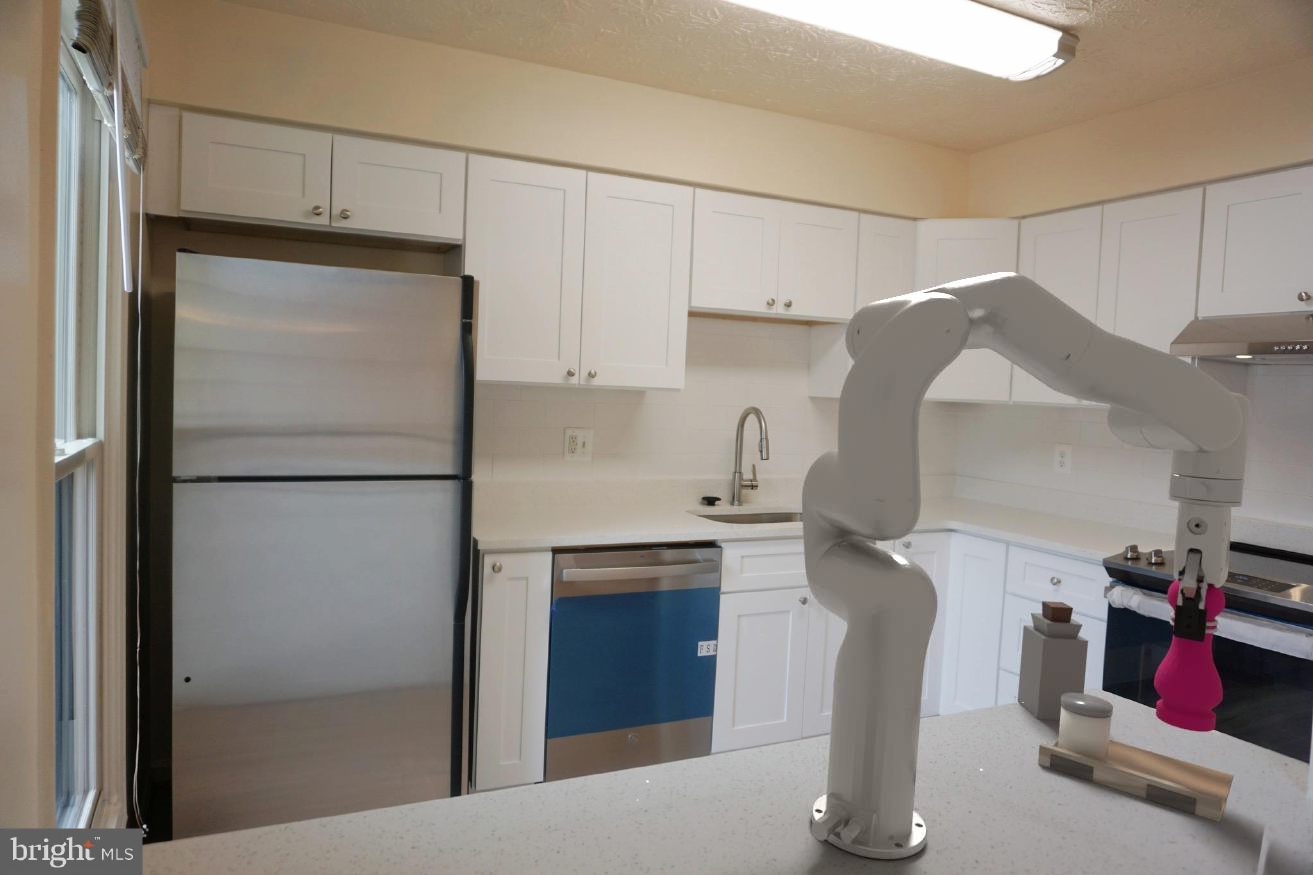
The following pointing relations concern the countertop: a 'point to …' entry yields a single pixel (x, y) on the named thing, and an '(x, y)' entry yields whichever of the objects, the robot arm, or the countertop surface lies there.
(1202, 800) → the shelf
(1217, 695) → the pepper mill
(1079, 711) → the jar
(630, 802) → the countertop surface
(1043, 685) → the perfume bottle
